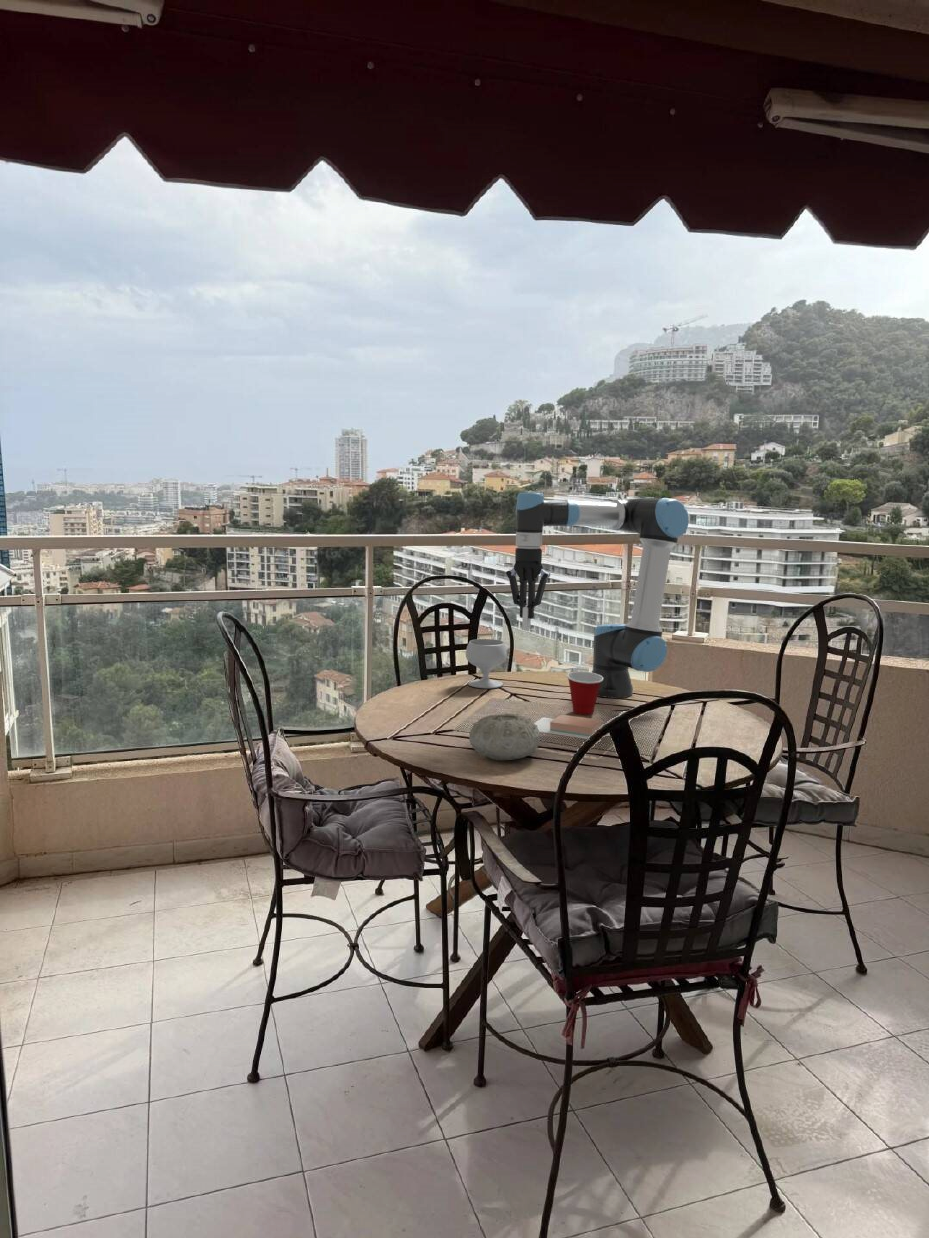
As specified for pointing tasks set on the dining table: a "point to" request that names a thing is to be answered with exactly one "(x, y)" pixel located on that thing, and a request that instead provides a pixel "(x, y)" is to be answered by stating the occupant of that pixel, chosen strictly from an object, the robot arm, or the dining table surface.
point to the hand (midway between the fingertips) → (526, 629)
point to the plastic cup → (584, 691)
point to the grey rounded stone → (505, 736)
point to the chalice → (486, 660)
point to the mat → (544, 726)
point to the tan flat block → (575, 725)
